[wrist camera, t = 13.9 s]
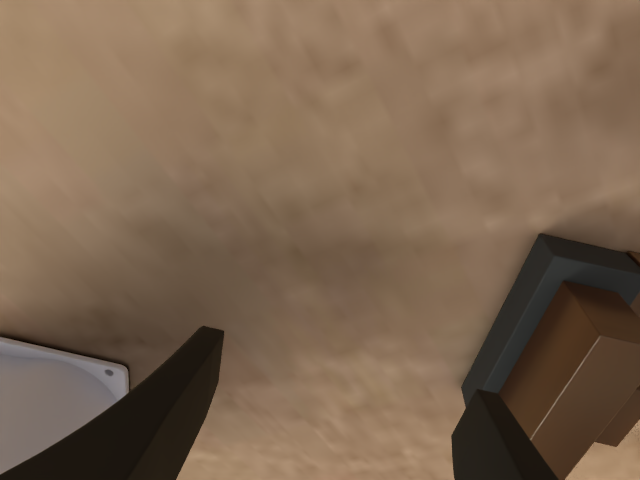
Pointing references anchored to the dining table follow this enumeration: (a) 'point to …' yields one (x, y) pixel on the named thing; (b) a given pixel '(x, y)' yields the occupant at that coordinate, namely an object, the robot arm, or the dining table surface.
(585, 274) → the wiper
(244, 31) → the dining table surface
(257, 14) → the dining table surface
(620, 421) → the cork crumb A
